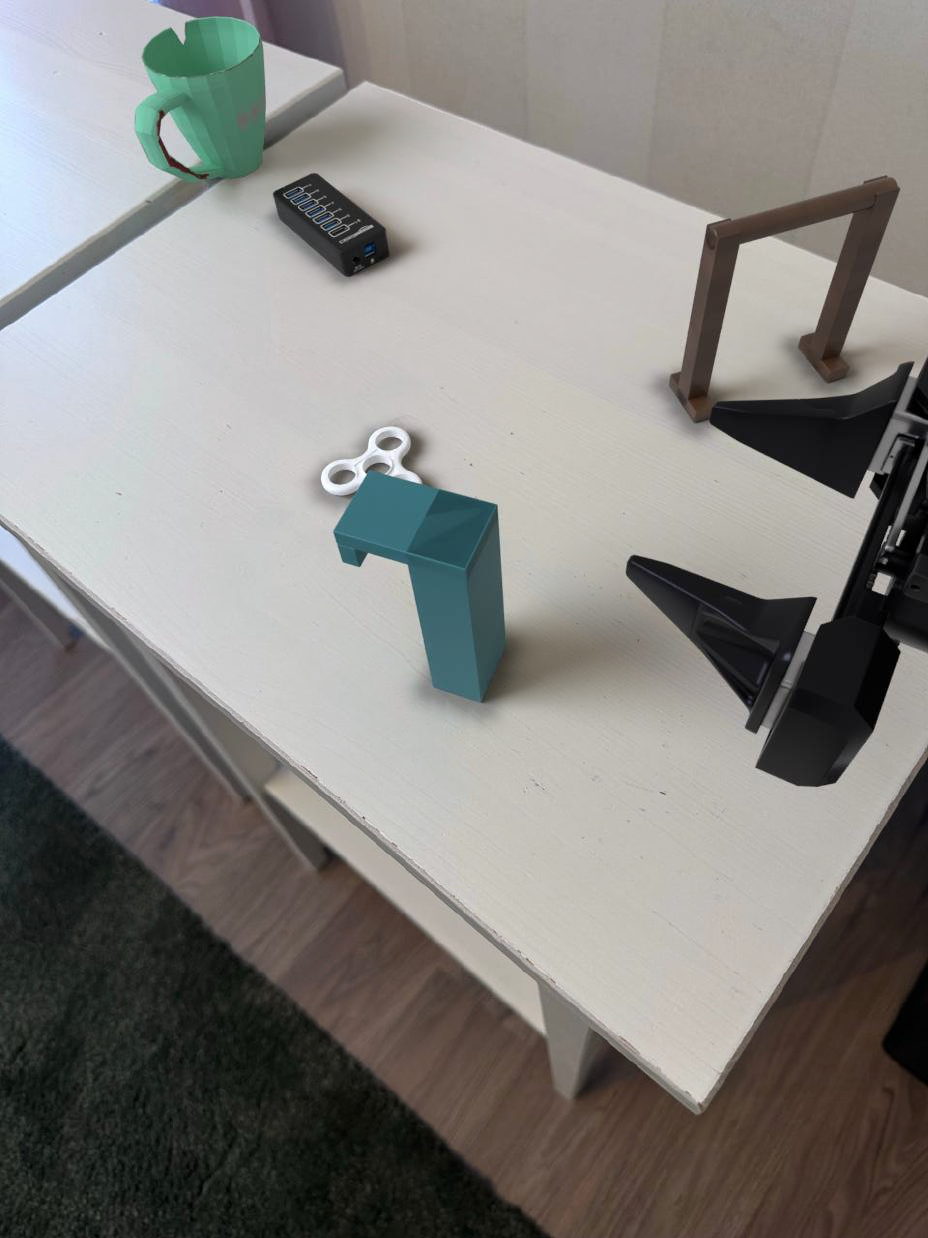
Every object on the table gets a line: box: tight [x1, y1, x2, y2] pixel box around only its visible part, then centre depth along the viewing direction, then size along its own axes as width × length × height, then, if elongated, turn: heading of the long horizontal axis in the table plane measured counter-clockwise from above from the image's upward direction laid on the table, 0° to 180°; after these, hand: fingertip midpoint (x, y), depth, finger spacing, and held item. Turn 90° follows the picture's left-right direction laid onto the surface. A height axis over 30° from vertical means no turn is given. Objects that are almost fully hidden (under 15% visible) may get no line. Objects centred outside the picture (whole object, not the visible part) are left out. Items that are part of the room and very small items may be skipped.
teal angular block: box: [332, 470, 507, 704], centre depth 47 cm, size 7×4×13 cm, turn 68°
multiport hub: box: [272, 172, 390, 277], centre depth 74 cm, size 4×11×2 cm, turn 37°
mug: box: [133, 15, 267, 184], centre depth 77 cm, size 15×10×10 cm
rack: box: [668, 174, 901, 424], centre depth 57 cm, size 4×12×14 cm, turn 108°
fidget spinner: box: [320, 425, 423, 496], centre depth 60 cm, size 7×6×1 cm
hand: (671, 483), depth 38 cm, fingers open, 9 cm apart
